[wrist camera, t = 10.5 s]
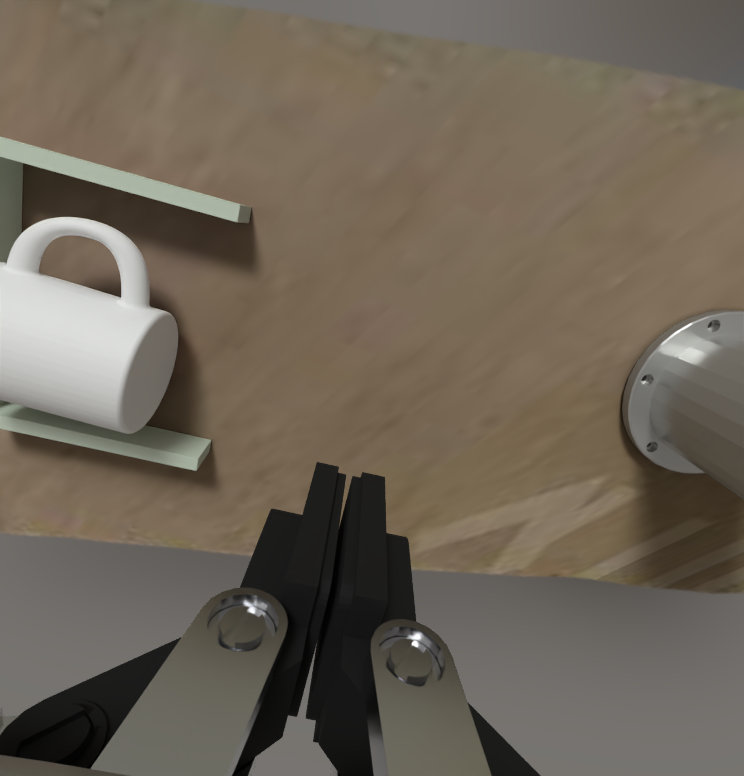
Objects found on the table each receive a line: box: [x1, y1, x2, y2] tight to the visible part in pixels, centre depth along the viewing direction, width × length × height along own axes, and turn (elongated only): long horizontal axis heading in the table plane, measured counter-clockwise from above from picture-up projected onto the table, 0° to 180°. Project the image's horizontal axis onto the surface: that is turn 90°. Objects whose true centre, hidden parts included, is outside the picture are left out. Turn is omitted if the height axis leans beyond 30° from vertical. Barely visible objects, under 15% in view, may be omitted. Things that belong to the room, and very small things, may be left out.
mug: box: [0, 217, 178, 434], centre depth 28 cm, size 12×10×8 cm
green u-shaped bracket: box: [0, 137, 252, 471], centre depth 30 cm, size 15×18×3 cm
